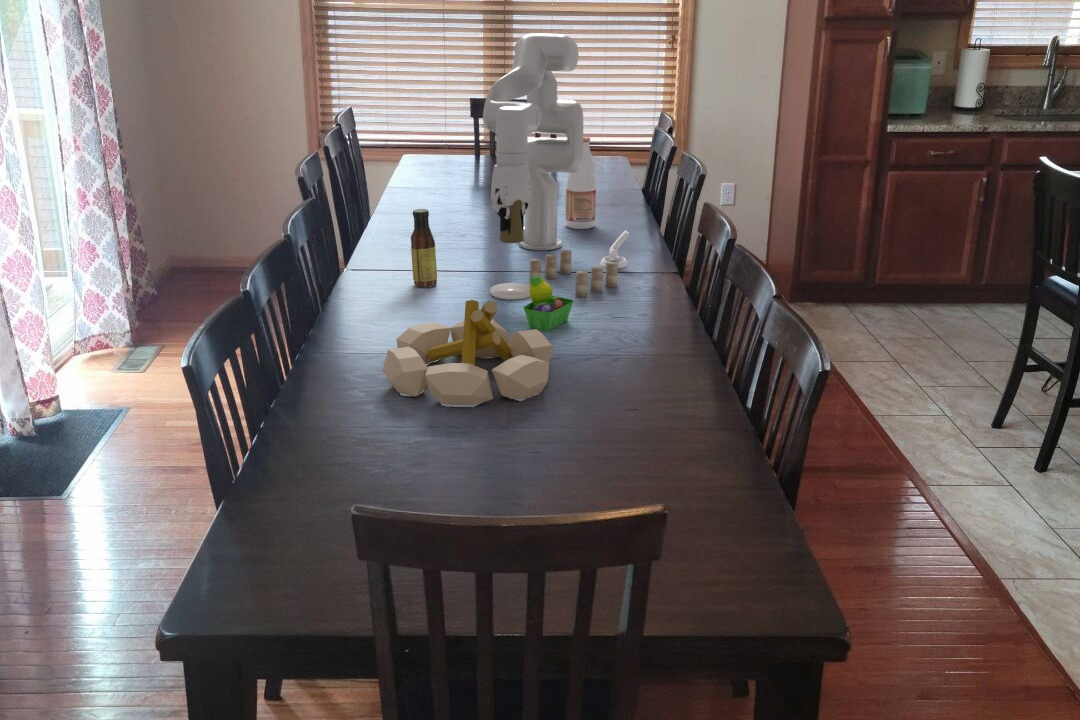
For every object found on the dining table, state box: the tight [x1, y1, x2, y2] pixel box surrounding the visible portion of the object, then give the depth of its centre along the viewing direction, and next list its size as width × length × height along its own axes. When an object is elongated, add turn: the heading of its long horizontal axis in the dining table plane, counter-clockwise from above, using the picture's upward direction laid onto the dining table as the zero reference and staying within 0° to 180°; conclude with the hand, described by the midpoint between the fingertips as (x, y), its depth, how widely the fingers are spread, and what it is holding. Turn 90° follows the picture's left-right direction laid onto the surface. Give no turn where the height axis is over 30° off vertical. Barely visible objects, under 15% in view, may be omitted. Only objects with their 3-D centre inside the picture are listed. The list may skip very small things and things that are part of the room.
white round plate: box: [489, 282, 530, 301], centre depth 268 cm, size 11×11×1 cm
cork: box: [499, 200, 524, 244], centre depth 261 cm, size 6×6×11 cm
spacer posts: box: [529, 249, 619, 298], centre depth 275 cm, size 19×15×6 cm
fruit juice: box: [565, 135, 597, 230], centre depth 328 cm, size 9×9×28 cm
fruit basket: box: [523, 276, 574, 332], centre depth 244 cm, size 11×9×11 cm
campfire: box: [382, 299, 555, 405], centre depth 212 cm, size 35×34×17 cm
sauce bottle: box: [410, 208, 438, 288], centre depth 270 cm, size 7×6×20 cm
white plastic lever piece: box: [600, 230, 630, 269], centre depth 292 cm, size 8×12×7 cm
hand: (511, 231), depth 262 cm, fingers closed on cork, 3 cm apart
